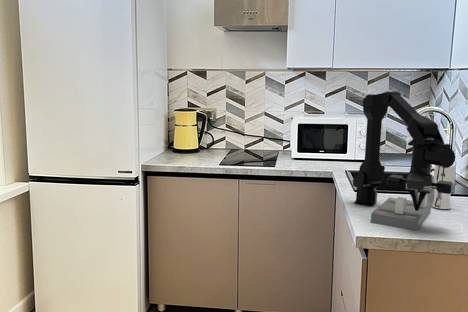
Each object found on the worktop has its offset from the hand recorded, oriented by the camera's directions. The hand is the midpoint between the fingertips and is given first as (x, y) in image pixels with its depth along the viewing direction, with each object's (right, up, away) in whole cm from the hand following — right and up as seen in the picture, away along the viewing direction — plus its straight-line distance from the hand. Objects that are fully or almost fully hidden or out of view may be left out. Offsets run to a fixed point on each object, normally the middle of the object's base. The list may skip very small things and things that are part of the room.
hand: (416, 210), depth 145 cm
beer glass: (+17, -1, +21) cm, 27 cm away
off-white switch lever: (-4, -1, +3) cm, 5 cm away
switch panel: (-2, -3, +9) cm, 9 cm away
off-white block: (+6, 0, +11) cm, 12 cm away
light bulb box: (+19, 0, +29) cm, 35 cm away
